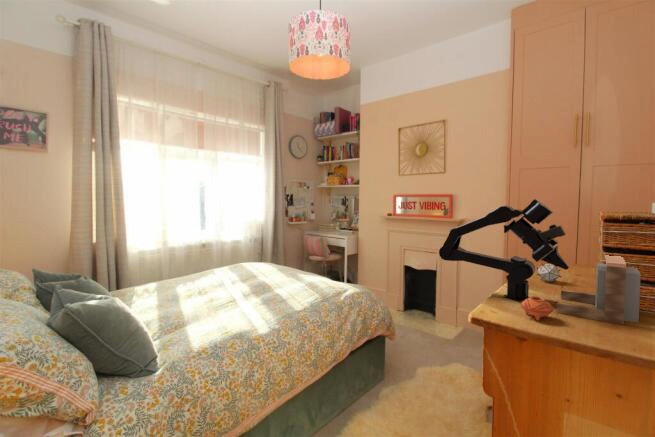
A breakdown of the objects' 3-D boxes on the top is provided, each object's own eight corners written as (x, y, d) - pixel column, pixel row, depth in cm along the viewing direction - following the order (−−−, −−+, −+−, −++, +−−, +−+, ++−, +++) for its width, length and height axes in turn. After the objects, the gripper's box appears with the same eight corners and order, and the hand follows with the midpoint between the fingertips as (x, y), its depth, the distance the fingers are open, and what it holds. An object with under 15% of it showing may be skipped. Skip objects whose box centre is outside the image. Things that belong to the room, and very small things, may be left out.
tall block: (596, 316, 94) (597, 269, 93) (595, 305, 103) (596, 263, 102) (638, 323, 89) (640, 274, 88) (633, 311, 97) (635, 266, 96)
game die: (554, 291, 131) (571, 275, 125) (534, 284, 131) (551, 268, 125) (546, 276, 138) (562, 260, 132) (527, 269, 138) (543, 253, 132)
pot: (538, 310, 99) (543, 291, 97) (556, 326, 91) (561, 306, 89) (513, 310, 99) (517, 291, 97) (528, 326, 91) (533, 305, 89)
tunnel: (557, 312, 97) (558, 258, 96) (561, 297, 111) (562, 250, 110) (623, 324, 88) (626, 264, 87) (619, 306, 102) (621, 254, 100)
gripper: (544, 218, 98) (590, 257, 91) (550, 215, 112) (590, 248, 105) (515, 242, 103) (557, 280, 97) (524, 236, 117) (561, 269, 111)
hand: (567, 268), depth 102 cm, fingers closed
